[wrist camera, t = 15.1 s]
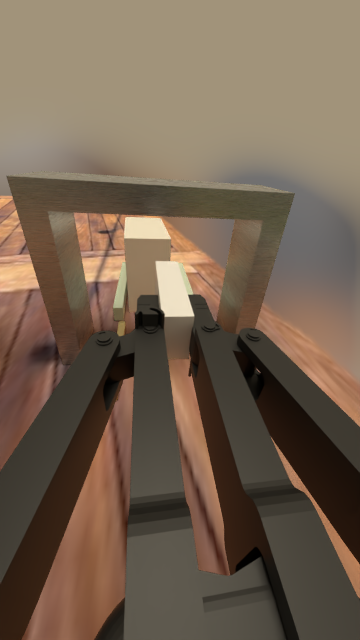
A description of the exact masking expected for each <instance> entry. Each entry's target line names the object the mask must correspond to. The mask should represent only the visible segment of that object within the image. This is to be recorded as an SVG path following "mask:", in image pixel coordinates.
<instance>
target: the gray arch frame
mask: <svg viewBox="0 0 360 640" xmlns="http://www.w3.org/2000/svg"><path fill="white" fill-rule="evenodd" d="M7 179H8V183H9V186H10V190H11V193H12V196H13V200H14V203H15V206H16V210H17V213H18V216H19V220H20V223H21V226H22V230H23V233H24V236H25V240H26V243H27V247H28V250H29V253H30V257H31V260H32V263H33V267H34V270H35V273H36V277H37V280H38V283H39V287H40V290H41V293H42V297H43V300H44V303H45V307H46V310H47V313H48V317H49V320H50V324H51V327H52V330H53V334H54V337H55V340H56V344H57V347H58V350H59V354H60V357H61V360H62V364H63V365H72V363H73V362H74V360H75V359H76V357H77V356H78V354H79V353H80V351H81V350H82V348H83V347H84V345H85V344H86V342H87V341H88V339H89V338H90V337H91V336H92V332H93V329H94V327H93V321H92V315H91V310H90V304H89V298H88V292H87V287H86V281H85V275H84V270H83V264H82V258H81V253H80V247H79V241H78V235H77V230H76V224H75V218H74V213H73V212H77V213H100V214H123V215H147V216H171V217H195V218H217V219H218V218H219V219H235V222H234V228H233V233H232V238H231V244H230V250H229V255H228V261H227V266H226V272H225V277H224V283H223V288H222V294H221V299H220V305H219V310H218V316H217V321H216V322H217V323H218V324H220V325H221V327H222V328H223V330H224V331H226V332H229V333H234V334H239V332H240V331H241V329H244V328H254V329H255V326H256V323H257V319H258V316H259V313H260V309H261V306H262V303H263V299H264V296H265V292H266V289H267V286H268V282H269V279H270V275H271V272H272V269H273V266H274V262H275V259H276V255H277V252H278V249H279V245H280V242H281V238H282V235H283V232H284V228H285V225H286V222H287V218H288V215H289V212H290V208H291V205H292V202H293V198H294V195H295V193H291V192H287V191H283V190H278V189H274V188H270V187H265V186H261V185H247V184H232V183H216V182H201V181H185V180H170V179H153V178H139V177H123V176H107V175H92V174H75V173H61V172H45V171H41V172H33V173H25V174H18V175H10V176H7ZM125 331H126V323H125V321H119V324H118V331H117V334H118V335H119V336H123V335H125ZM116 400H118V396H117V399H116Z"/></svg>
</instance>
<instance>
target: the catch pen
mask: <svg viewBox="0 0 360 640" xmlns="http://www.w3.org/2000/svg"><path fill="white" fill-rule="evenodd" d="M178 265H179V268H180V271H181V275H182V278H183V281H184V284H185V287H186V291H187V294H188V295H193V292H192V289H191V286H190V284H189V281H188V278H187V275H186V272H185V269H184V267H183V264H182V263H178ZM126 298H127V276H126V262H123V263H122V268H121V273H120V277H119V282H118V287H117V292H116V296H115V301H114V306H113V312H114V321H124V314H125V306H126Z"/></svg>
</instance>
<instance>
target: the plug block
mask: <svg viewBox="0 0 360 640" xmlns="http://www.w3.org/2000/svg"><path fill="white" fill-rule="evenodd" d="M124 245H125V261H126V276H127V291H128V305H129V312H136V311H137V299H138V298H139V296H140V295H155V261H170V253H171V238H170V236H169V234H168V232H167V230H166V228H165V226H164V224H163V222H162V220H161V218H138V217H126V219H125V232H124Z"/></svg>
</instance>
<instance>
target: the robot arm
mask: <svg viewBox="0 0 360 640" xmlns="http://www.w3.org/2000/svg"><path fill="white" fill-rule="evenodd" d="M189 352H190V356H191V361H190V368H189V376H191V373H192V377H193V382H194V387H195V391H196V396H197V401H198V405H199V410H200V415H201V419H202V424H203V428H204V433H205V438H206V442H207V447H208V452H209V456H210V461H211V465H212V470H213V475H214V479H215V484H216V489H217V493H218V498H219V503H220V507H221V512H222V516H223V522H224V541H225V550H226V556H227V561H228V566H229V571H230V576H225V575H220V574H215V573H210V572H205V571H201V570H198V563H197V555H196V548H195V541H194V533H193V526H192V520H191V514H190V510H189V507H188V504H187V502H186V498H185V492H184V484H183V476H182V468H181V460H180V452H179V444H178V436H177V428H176V420H175V412H174V404H173V396H172V388H171V381H170V373H169V365H168V360H169V359H189ZM256 368H257V369H258V370H259V371H260V372H261V373H259V372H258V371H257V369H256ZM133 376H134V390H133V421H132V452H131V483H130V508H129V516H128V532H127V558H126V586H125V598H124V599H123V600H122V601H121V602H120V603H119V604H118V605H117V606H116V608H115V609H114V610H113V611H112V613H111V614H110V615H109V617H108V618H107V620H106V621H105V623H104V624H103V626H102V627H101V629H100V631H99V632H98V634H97V636H96V638H95V640H360V599H359V598H358V596H357V594H356V592H355V590H354V588H353V586H352V584H351V582H350V580H349V578H348V575H347V573H346V571H345V569H344V567H343V565H342V563H341V561H340V559H339V557H338V555H337V552H336V550H335V548H334V546H333V544H332V542H331V540H330V538H329V536H328V534H327V532H326V529H325V527H324V525H323V523H322V521H321V519H320V517H319V515H318V513H317V511H316V509H315V507H314V505H313V504H312V502H311V500H310V499H309V498H308V497H307V495H306V494H305V493H304V492H302V491H300V490H298V489H296V488H295V487H294V486H293V485H292V483H291V481H290V479H289V477H288V475H287V473H286V470H285V468H284V466H283V464H282V461H281V459H280V457H279V455H278V452H277V450H276V448H275V446H274V443H273V441H272V439H273V440H274V442H275V443H276V445H277V446H278V447H279V449H280V450H281V452H282V453H283V455H284V456H285V458H286V459H287V460H288V462H289V463H290V465H291V466H292V468H293V469H294V471H295V472H296V474H297V475H298V476H299V478H300V479H301V481H302V482H303V484H304V485H305V487H306V488H307V489H308V491H309V492H310V494H311V495H312V497H313V498H314V500H315V501H316V502H317V504H318V505H319V507H320V508H321V510H322V511H323V513H324V514H325V516H326V517H327V518H328V520H329V521H330V523H331V524H332V526H333V527H334V529H335V530H336V531H337V533H338V534H339V536H340V537H341V539H342V540H343V542H344V543H345V544H346V546H347V547H348V549H349V550H350V551H351V553H352V554H353V555H354V557H355V558H356V560H357V561H358V562H359V564H360V427H359V426H358V425H357V424H356V423H355V422H354V421H353V420H352V419H351V418H350V417H349V416H348V415H347V414H346V413H345V412H344V411H343V410H342V409H341V408H340V407H339V406H338V405H337V404H336V403H335V402H334V401H333V400H332V399H331V398H330V397H329V396H328V395H327V394H325V393H324V392H323V391H322V390H321V389H320V388H319V387H318V386H317V385H316V384H315V383H314V382H313V381H312V380H311V379H310V378H309V377H308V376H307V375H306V374H305V373H304V372H303V371H302V370H301V369H300V368H299V367H298V366H297V365H296V364H295V363H294V362H293V361H292V360H291V359H290V358H289V357H288V356H287V355H286V354H285V353H284V352H282V351H281V350H280V349H279V348H278V347H277V346H276V345H275V344H274V343H273V342H272V341H271V340H270V339H269V338H268V337H267V336H266V335H265V334H264V333H263V332H261V331H260V330H257V329H254V328H244V329H241V331H240V332H239V334H234V333H229V332H226V331H224V330H223V328H222V327H221V325H220V324H218V323H217V322H215V321H214V320H213V317H212V315H211V312H210V310H209V308H208V305H207V303H206V300H205V299H204V298H203V297H202V296H201V295H188V294H187V291H186V287H185V284H184V281H183V278H182V275H181V271H180V268H179V265H178V262H174V261H155V295H140V296H139V298H138V299H137V311H136V313H135V329H134V330H133V331H132V332H131V333H129V334H126V335H123V336H119V335H118V334H117V333H115V332H112V331H100V332H97V333H95V334H93V335H92V336H91V337H90V338H89V339H88V341H87V342H86V344H85V345H84V347H83V348H82V350H81V351H80V353H79V354H78V356H77V357H76V359H75V360H74V362H73V363H72V365H71V366H70V368H69V369H68V371H67V372H66V374H65V375H64V377H63V378H62V380H61V381H60V383H59V384H58V386H57V387H56V389H55V390H54V392H53V393H52V395H51V396H50V398H49V399H48V401H47V402H46V404H45V405H44V407H43V408H42V410H41V411H40V413H39V414H38V416H37V417H36V419H35V420H34V422H33V423H32V425H31V426H30V428H29V429H28V431H27V432H26V434H25V435H24V437H23V438H22V440H21V441H20V443H19V444H18V446H17V447H16V449H15V450H14V452H13V453H12V455H11V456H10V458H9V459H8V461H7V462H6V464H5V465H4V467H3V468H2V470H1V471H0V640H21V639H22V637H23V635H24V633H25V631H26V628H27V626H28V624H29V621H30V619H31V616H32V614H33V612H34V609H35V607H36V605H37V602H38V600H39V597H40V595H41V592H42V590H43V587H44V585H45V582H46V579H47V577H48V574H49V572H50V569H51V567H52V564H53V561H54V559H55V556H56V554H57V551H58V548H59V546H60V543H61V541H62V538H63V536H64V533H65V530H66V528H67V525H68V523H69V520H70V518H71V515H72V512H73V510H74V507H75V505H76V502H77V499H78V497H79V494H80V492H81V489H82V487H83V484H84V481H85V479H86V476H87V474H88V471H89V469H90V466H91V463H92V461H93V458H94V456H95V453H96V450H97V448H98V445H99V443H100V440H101V438H102V435H103V432H104V430H105V427H106V425H107V422H108V420H109V417H110V414H111V412H112V409H113V407H114V404H115V402H116V399H117V396H118V394H119V391H120V389H121V386H122V383H123V380H124V379H127V378H130V377H133ZM270 436H271V437H272V439H271V437H270Z"/></svg>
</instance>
